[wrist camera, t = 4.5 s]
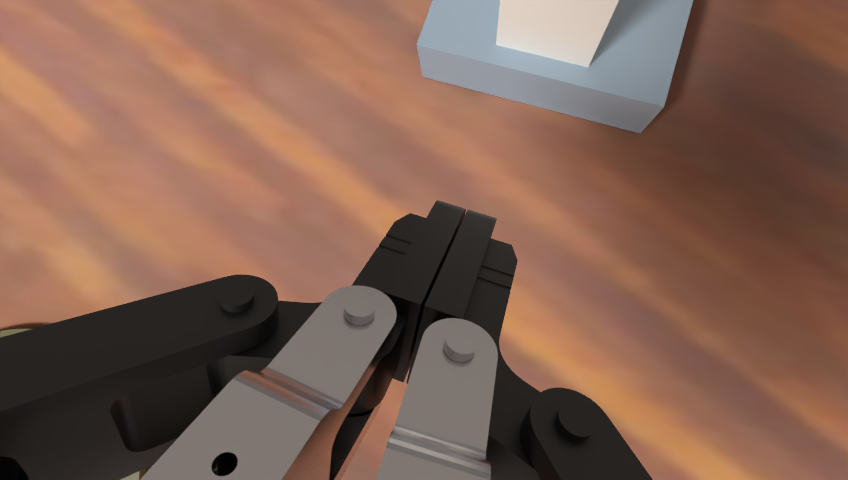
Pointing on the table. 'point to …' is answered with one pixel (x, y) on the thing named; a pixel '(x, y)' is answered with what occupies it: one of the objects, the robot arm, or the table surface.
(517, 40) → the white rectangular block
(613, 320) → the table surface
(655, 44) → the plate
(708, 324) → the table surface
